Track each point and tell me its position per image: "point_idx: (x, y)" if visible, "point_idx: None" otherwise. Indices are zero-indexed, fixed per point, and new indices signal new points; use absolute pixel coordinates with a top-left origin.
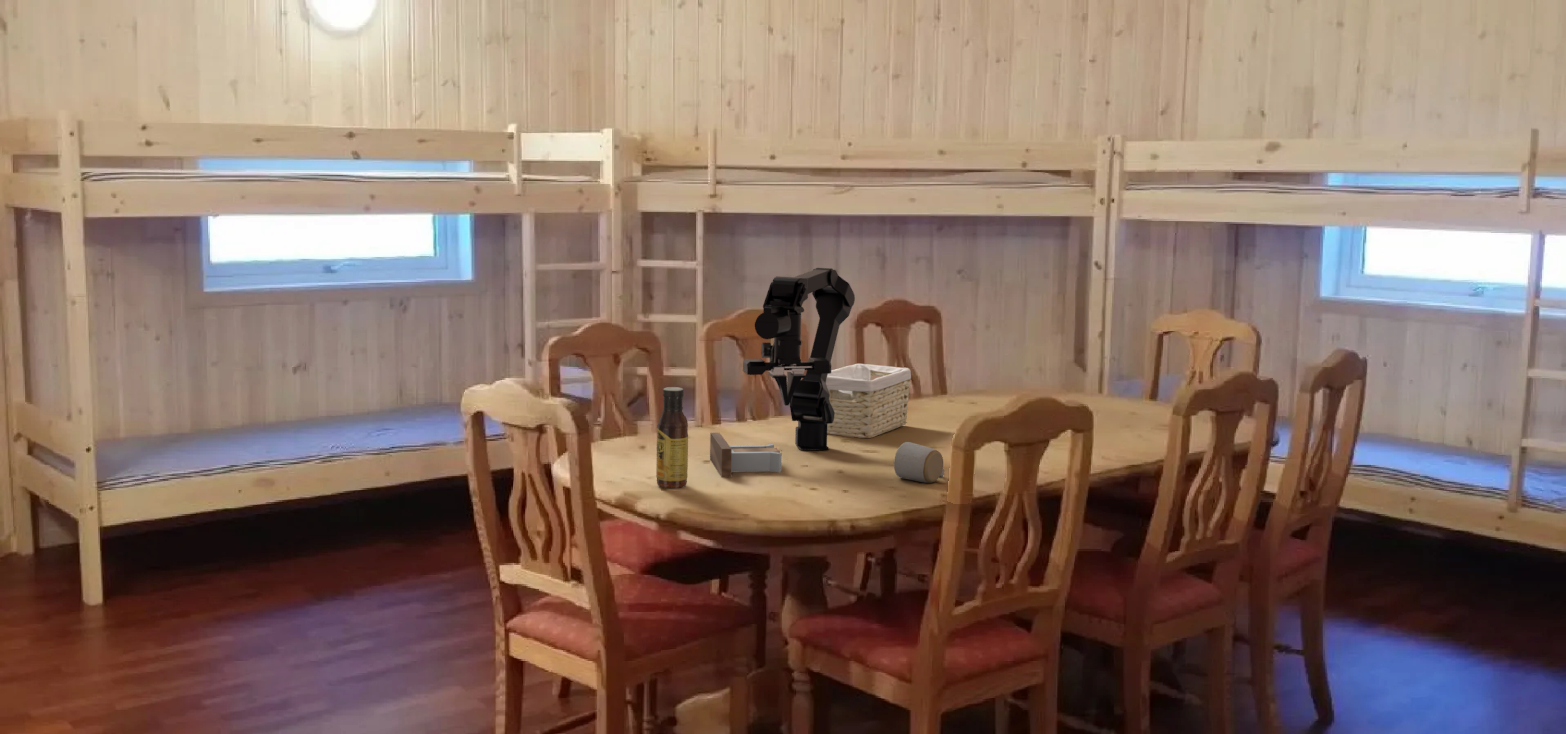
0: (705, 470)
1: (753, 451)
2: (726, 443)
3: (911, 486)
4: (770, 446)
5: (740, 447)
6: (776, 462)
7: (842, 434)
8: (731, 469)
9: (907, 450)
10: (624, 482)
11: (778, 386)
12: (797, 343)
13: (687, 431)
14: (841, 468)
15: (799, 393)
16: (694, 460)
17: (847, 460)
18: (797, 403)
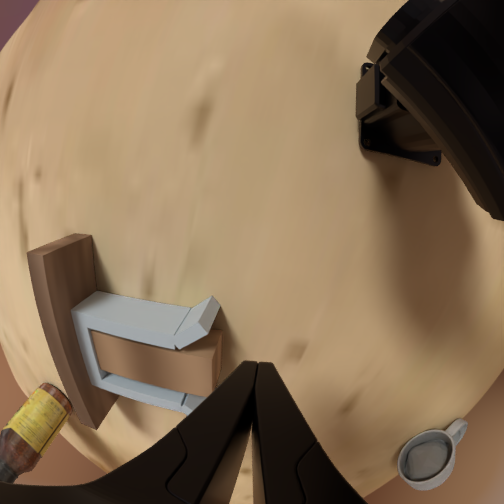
0: None
1: (143, 377)
2: (77, 392)
3: (388, 466)
4: (195, 338)
5: (110, 332)
6: None
7: None
8: None
9: (414, 486)
10: (13, 356)
11: (149, 452)
12: None
13: (36, 458)
14: (367, 382)
15: (477, 85)
16: (51, 234)
17: (426, 306)
18: (423, 103)
